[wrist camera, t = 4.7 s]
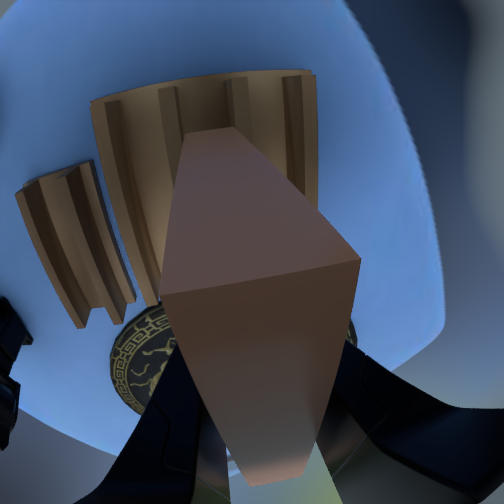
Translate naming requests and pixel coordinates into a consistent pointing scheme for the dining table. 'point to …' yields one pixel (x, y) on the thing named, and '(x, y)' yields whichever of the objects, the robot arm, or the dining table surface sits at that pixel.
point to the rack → (171, 141)
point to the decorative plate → (149, 355)
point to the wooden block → (255, 301)
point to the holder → (76, 242)
